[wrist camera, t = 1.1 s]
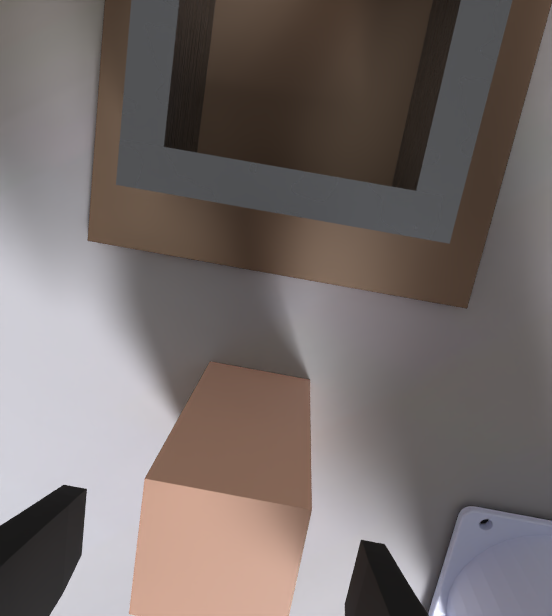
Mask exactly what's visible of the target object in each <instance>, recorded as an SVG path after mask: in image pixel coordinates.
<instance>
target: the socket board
mask: <svg viewBox="0 0 552 616" xmlns="http://www.w3.org/2000/svg"><path fill="white" fill-rule="evenodd" d="M551 3H552V0H105V6H104V20H103V34H102V48H101V62H100V75H99V89H98V103H97V117H96V131H95V145H94V159H93V172H92V186H91V200H90V214H89V228H88V241H92V242H98V243H103V244H109V245H115V246H120V247H126V248H131V249H137V250H143V251H148V252H154V253H159V254H165V255H171V256H176V257H182V258H187V259H193V260H198V261H204V262H210V263H215V264H221V265H226V266H232V267H238V268H243V269H249V270H254V271H260V272H266V273H271V274H277V275H282V276H288V277H294V278H299V279H305V280H310V281H316V282H322V283H327V284H333V285H338V286H344V287H350V288H355V289H361V290H366V291H372V292H378V293H383V294H389V295H394V296H400V297H406V298H411V299H417V300H422V301H428V302H434V303H439V304H445V305H450V306H456V307H462V308H467V307H468V303H469V300H470V296H471V292H472V289H473V285H474V282H475V278H476V274H477V271H478V267H479V263H480V260H481V256H482V253H483V249H484V245H485V242H486V238H487V235H488V231H489V227H490V224H491V220H492V217H493V213H494V209H495V206H496V202H497V198H498V195H499V191H500V188H501V184H502V180H503V177H504V173H505V170H506V166H507V162H508V159H509V155H510V152H511V148H512V144H513V141H514V137H515V133H516V130H517V126H518V123H519V119H520V115H521V112H522V108H523V105H524V101H525V97H526V94H527V90H528V87H529V83H530V79H531V76H532V72H533V68H534V65H535V61H536V58H537V54H538V50H539V47H540V43H541V40H542V36H543V32H544V29H545V25H546V22H547V18H548V14H549V11H550V7H551Z"/></svg>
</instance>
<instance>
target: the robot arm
mask: <svg viewBox="0 0 552 616" xmlns="http://www.w3.org/2000/svg"><path fill="white" fill-rule="evenodd" d="M86 493H87V489H84V488H78V487H73V486H68V485H63V486H61V487H60V488H58V489H57V490H55V491H53V492H52V493H50V494H49V495H47V496H46V497H44V498H43V499H41V500H40V501H38V502H36V503H35V504H33V505H32V506H30V507H29V508H27V509H26V510H24V511H23V512H21V513H20V514H18V515H17V516H15V517H13V518H12V519H10V520H9V521H7V522H5V523H4V524H2V525H1V526H0V616H49V615H50V614H51V612H52V610H53V609H54V607H55V606H56V604H57V602H58V601H59V599H60V597H61V596H62V594H63V592H64V590H65V588H66V586H67V584H68V582H69V580H70V578H71V576H72V574H73V572H74V570H75V567H76V565H77V563H78V561H79V559H80V557H81V554H82V542H83V530H84V518H85V505H86ZM484 519H489V520H488V522H486V523H485V524H480V522H481V521H482V520H484ZM345 616H552V521H550V520H545V519H540V518H534V517H529V516H524V515H518V514H513V513H507V512H502V511H497V510H491V509H486V508H481V507H475V506H468V507H465V508H464V509H462V510H461V511H460V513H459V515H458V518H457V521H456V525H455V528H454V531H453V534H452V538H451V541H450V544H449V548H448V551H447V554H446V557H445V561H444V564H443V567H442V570H441V574H440V577H439V580H438V583H437V587H436V590H435V593H434V597H433V600H432V603H431V606H430V610H429V613H427V612H426V610H425V609H424V607H423V606H422V604H421V603H420V601H419V600H418V598H417V597H416V595H415V593H414V592H413V590H412V589H411V587H410V585H409V584H408V582H407V580H406V579H405V577H404V576H403V574H402V572H401V570H400V569H399V567H398V565H397V564H396V562H395V560H394V559H393V557H392V555H391V554H390V552H389V550H388V549H387V547H386V546H385V544H381V543H375V542H370V541H365V540H361V542H360V546H359V550H358V554H357V558H356V562H355V566H354V570H353V574H352V578H351V582H350V586H349V590H348V594H347V598H346V602H345Z"/></svg>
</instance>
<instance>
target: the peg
mask: <svg viewBox="0 0 552 616" xmlns="http://www.w3.org/2000/svg"><path fill="white" fill-rule="evenodd" d="M311 511H312V493H311V425H310V380H309V379H304V378H298V377H293V376H287V375H282V374H276V373H271V372H265V371H260V370H254V369H249V368H244V367H238V366H233V365H227V364H222V363H216V362H211V361H210V362H209V364H208V366H207V368H206V370H205V371H204V373H203V375H202V377H201V379H200V380H199V382H198V384H197V386H196V388H195V389H194V391H193V393H192V395H191V396H190V398H189V400H188V402H187V404H186V405H185V407H184V409H183V411H182V413H181V414H180V416H179V418H178V420H177V422H176V423H175V425H174V427H173V429H172V431H171V432H170V434H169V436H168V438H167V440H166V441H165V443H164V445H163V447H162V449H161V450H160V452H159V454H158V456H157V457H156V459H155V461H154V463H153V465H152V466H151V468H150V470H149V472H148V474H147V475H146V477H145V481H144V489H143V498H142V506H141V515H140V524H139V532H138V541H137V550H136V558H135V567H134V575H133V584H132V593H131V601H130V610H129V614H131V615H136V616H289V612H290V608H291V603H292V599H293V594H294V589H295V585H296V580H297V576H298V571H299V566H300V562H301V557H302V553H303V548H304V543H305V539H306V534H307V530H308V525H309V520H310V516H311Z"/></svg>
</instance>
